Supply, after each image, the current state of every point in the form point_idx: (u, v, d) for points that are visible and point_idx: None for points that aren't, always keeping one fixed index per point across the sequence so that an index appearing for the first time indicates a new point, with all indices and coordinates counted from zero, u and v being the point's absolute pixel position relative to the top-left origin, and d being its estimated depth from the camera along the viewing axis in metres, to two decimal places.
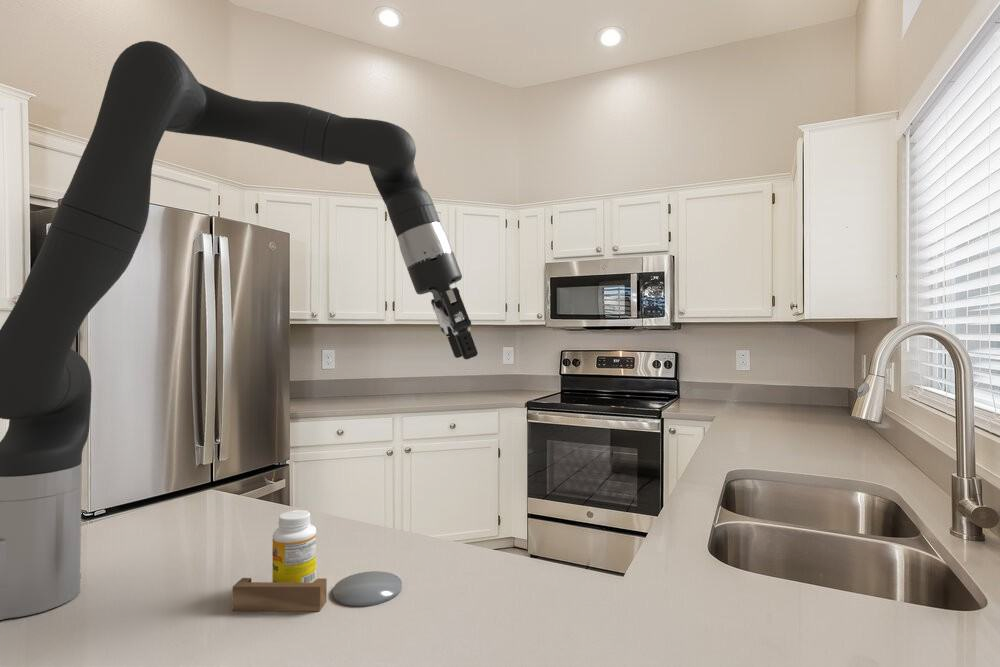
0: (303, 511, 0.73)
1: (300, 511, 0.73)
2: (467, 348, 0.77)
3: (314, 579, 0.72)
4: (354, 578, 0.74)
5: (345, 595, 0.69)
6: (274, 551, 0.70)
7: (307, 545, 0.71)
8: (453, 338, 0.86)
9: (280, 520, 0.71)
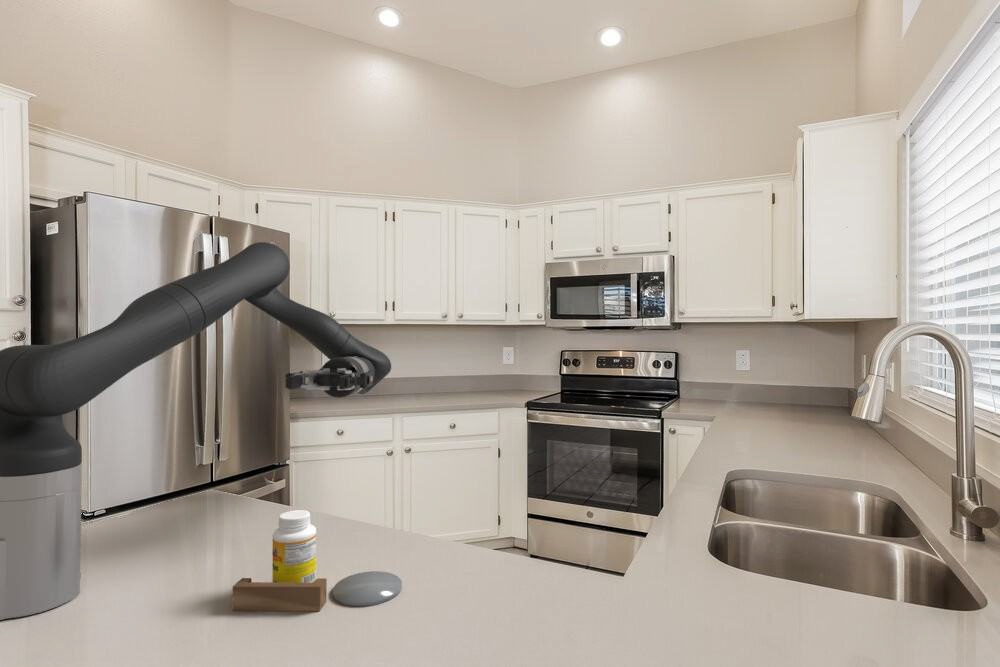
0: (303, 511, 0.73)
1: (300, 511, 0.73)
2: None
3: (314, 579, 0.72)
4: (354, 578, 0.74)
5: (345, 595, 0.69)
6: (274, 551, 0.70)
7: (307, 545, 0.71)
8: (299, 379, 0.91)
9: (280, 520, 0.71)
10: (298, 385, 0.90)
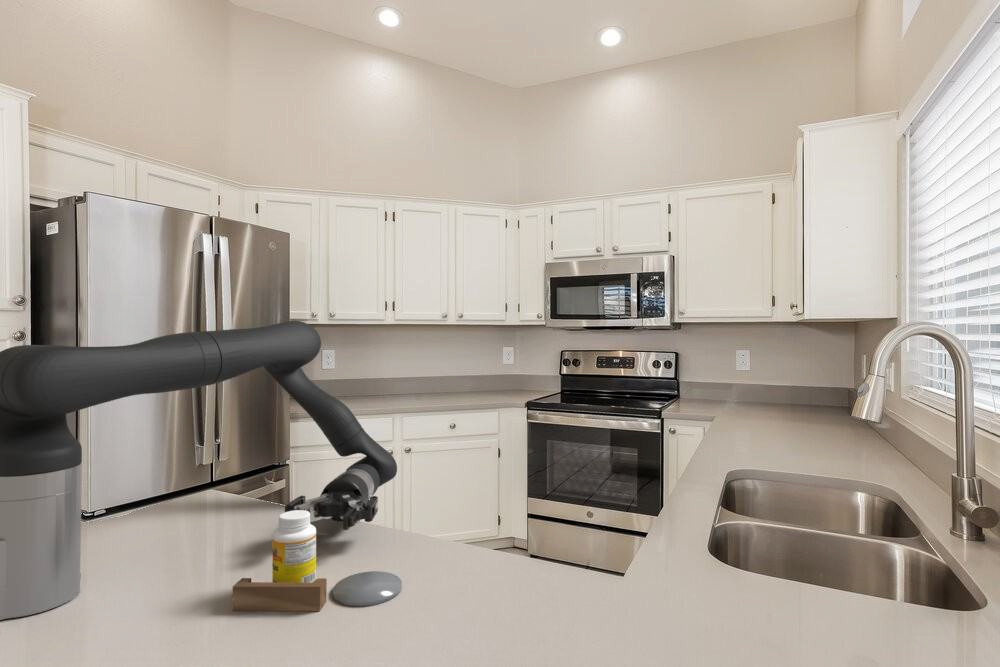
0: (303, 511, 0.73)
1: (300, 511, 0.73)
2: None
3: (314, 579, 0.72)
4: (354, 578, 0.74)
5: (345, 595, 0.69)
6: (274, 551, 0.70)
7: (307, 545, 0.71)
8: None
9: (280, 520, 0.71)
10: None
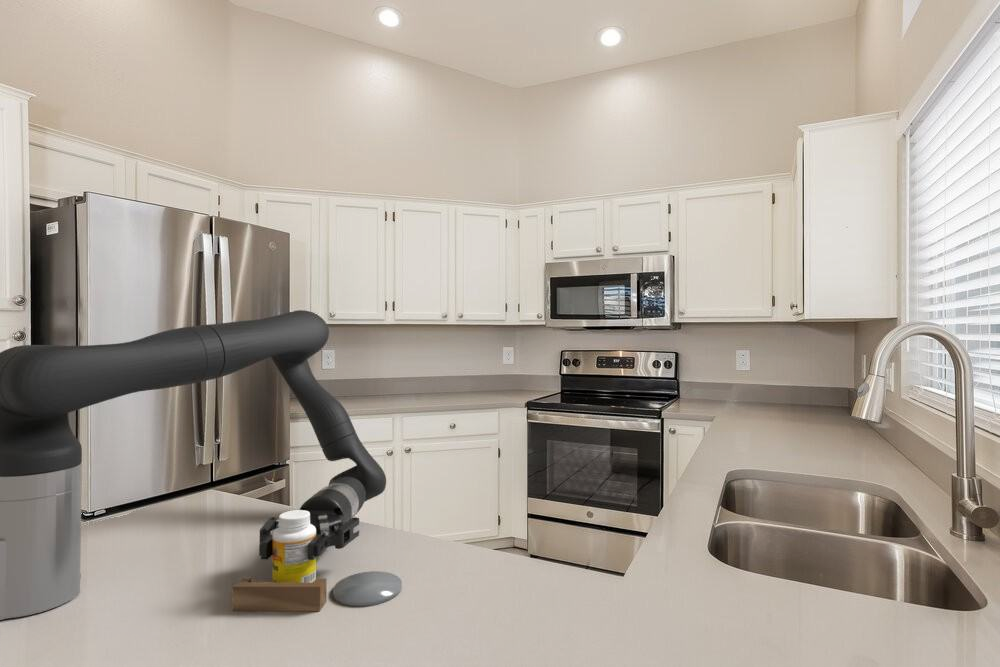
0: (303, 511, 0.73)
1: (300, 511, 0.73)
2: None
3: (314, 579, 0.72)
4: (354, 578, 0.74)
5: (345, 595, 0.69)
6: (274, 551, 0.70)
7: (307, 545, 0.71)
8: None
9: (279, 520, 0.71)
10: None
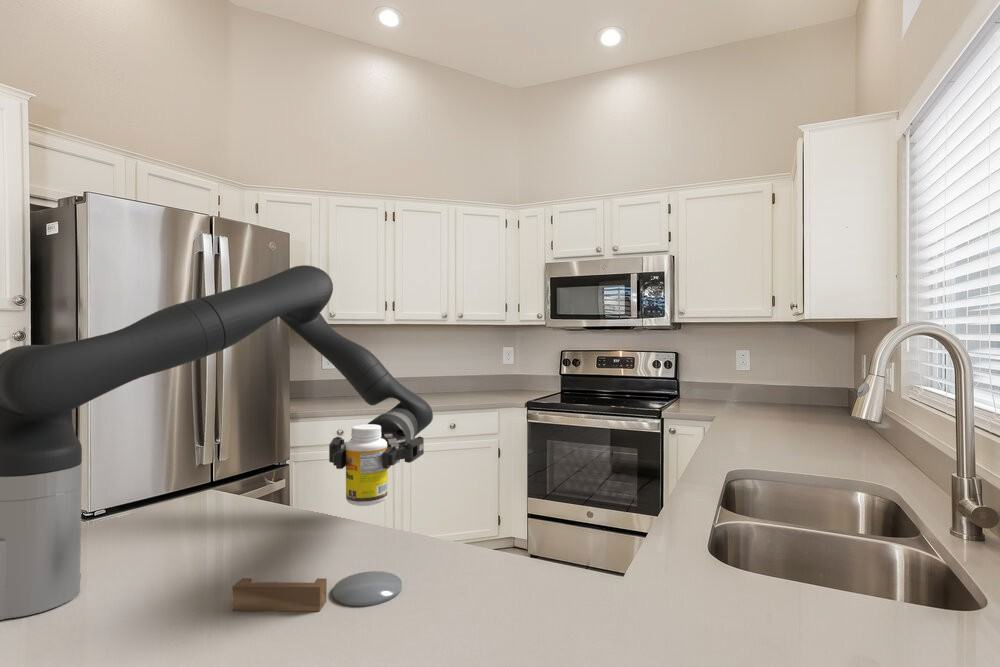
0: (373, 425, 0.74)
1: (370, 425, 0.74)
2: None
3: (386, 490, 0.73)
4: (354, 578, 0.74)
5: (345, 595, 0.69)
6: (348, 461, 0.71)
7: (381, 455, 0.71)
8: None
9: (353, 430, 0.72)
10: None
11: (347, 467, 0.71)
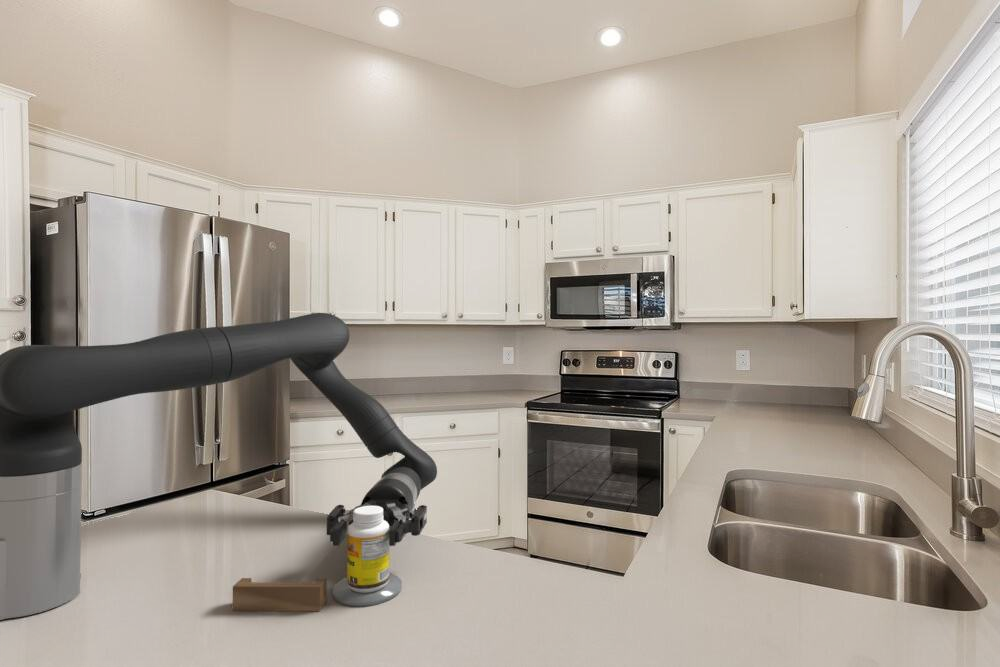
0: (375, 506, 0.73)
1: (372, 506, 0.73)
2: None
3: (388, 574, 0.72)
4: None
5: (345, 595, 0.69)
6: (350, 546, 0.70)
7: (382, 540, 0.71)
8: (345, 527, 0.73)
9: (355, 515, 0.71)
10: (343, 535, 0.73)
11: (348, 552, 0.70)
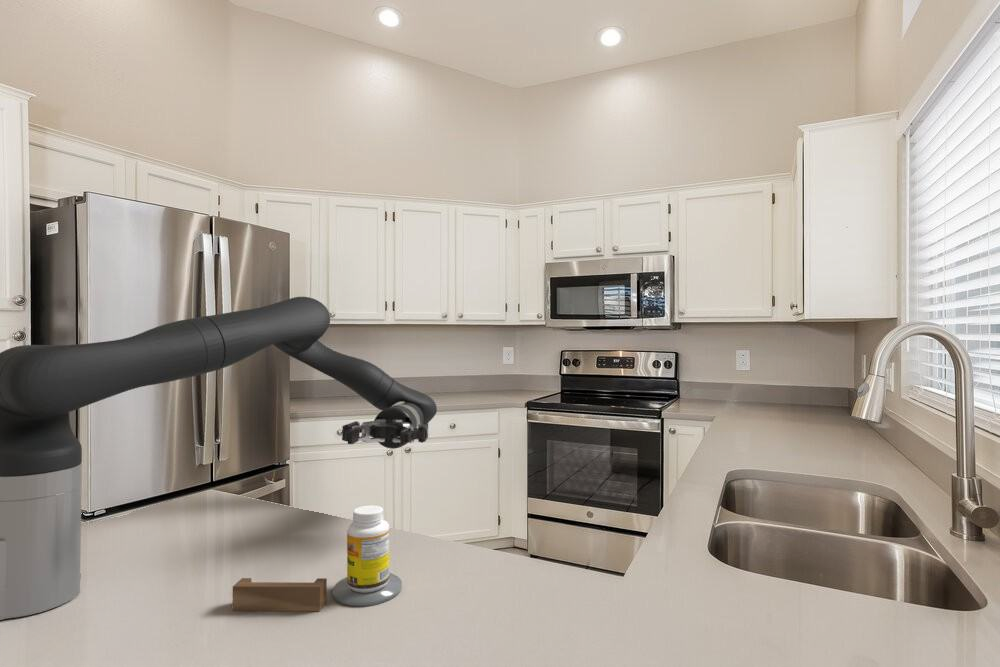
0: (375, 506, 0.73)
1: (372, 506, 0.74)
2: None
3: (388, 574, 0.72)
4: None
5: (345, 595, 0.69)
6: (350, 546, 0.70)
7: (382, 540, 0.71)
8: (357, 432, 0.89)
9: (354, 515, 0.71)
10: (356, 439, 0.88)
11: (348, 552, 0.70)
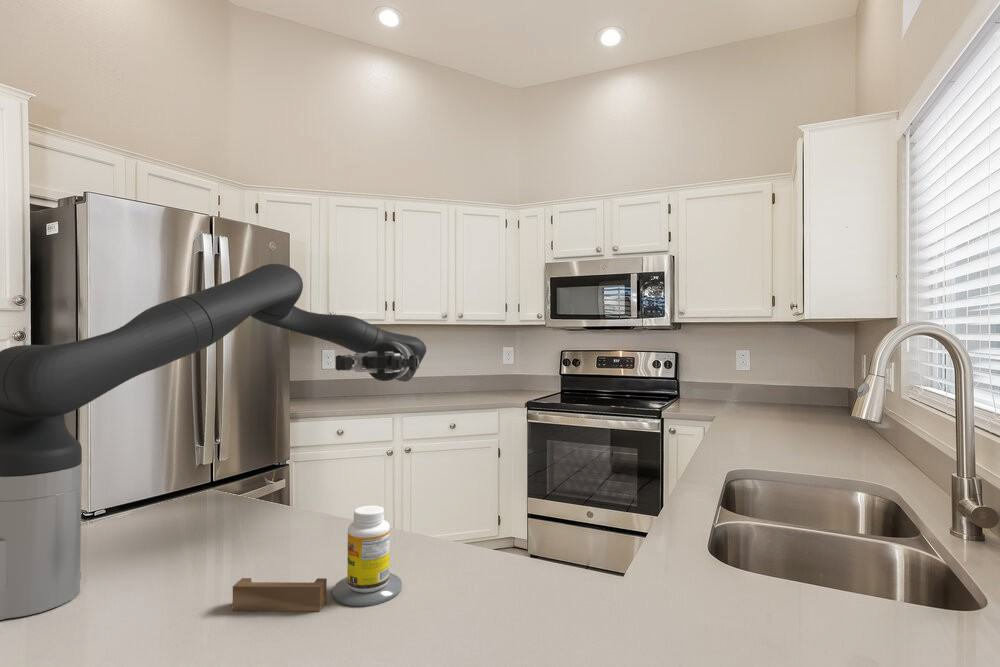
0: (376, 506, 0.73)
1: (373, 506, 0.73)
2: None
3: (388, 574, 0.72)
4: None
5: (345, 595, 0.69)
6: (350, 546, 0.70)
7: (383, 540, 0.71)
8: (350, 361, 0.92)
9: (355, 515, 0.71)
10: (349, 367, 0.91)
11: (349, 552, 0.70)
